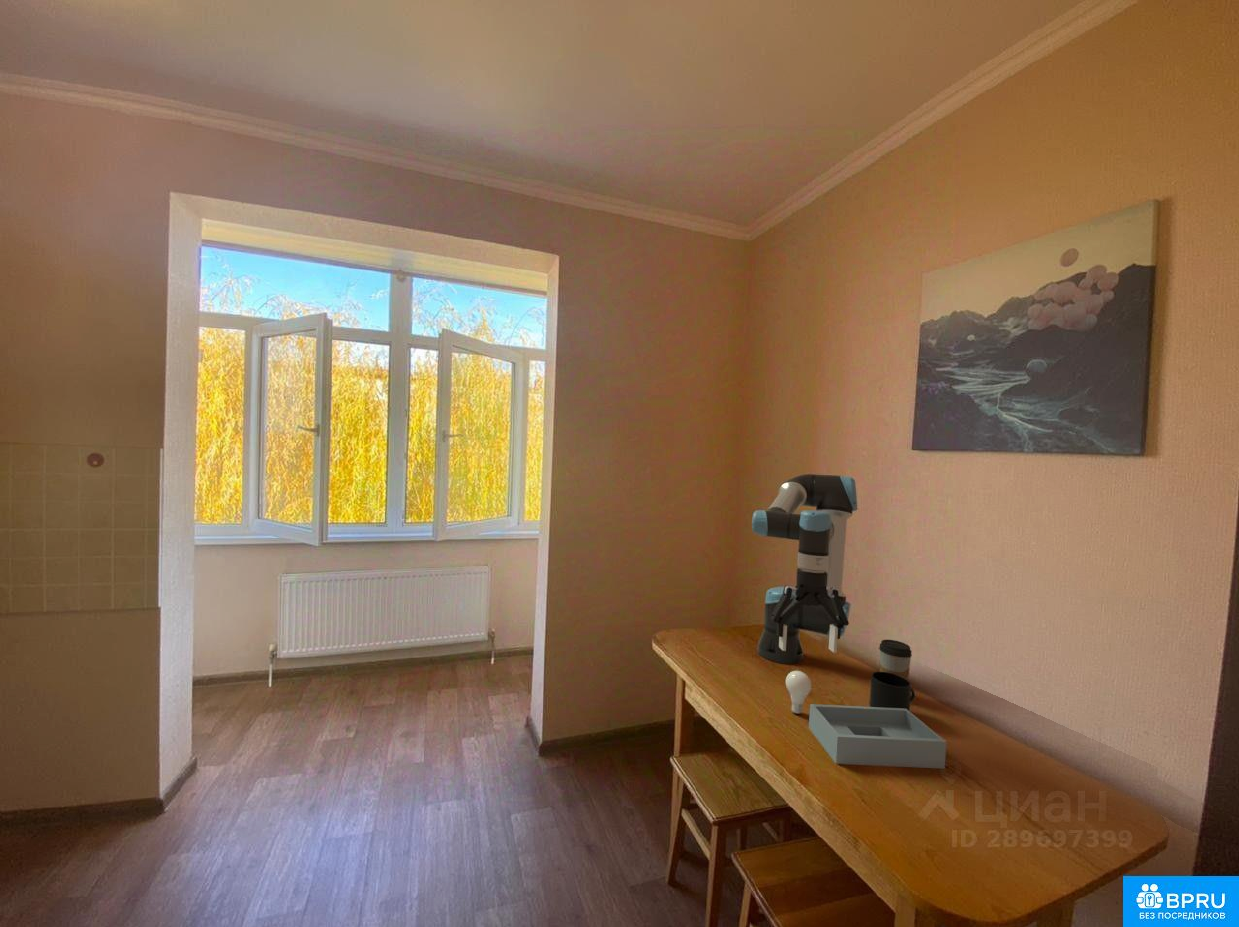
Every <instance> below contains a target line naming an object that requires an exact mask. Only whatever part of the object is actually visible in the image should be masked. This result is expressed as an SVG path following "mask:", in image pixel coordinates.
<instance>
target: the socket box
mask: <svg viewBox="0 0 1239 927" xmlns="http://www.w3.org/2000/svg"><path fill="white" fill-rule="evenodd" d="M808 719H809V720H808V730H810V732H811V733H812V734H813V736H814V737H815V738H816V740H817V741H818V742H819V744H820V745H821V746H822V748H824V751H826V753H827V754H828V755H829V757H830V758H831V759H832V761H833V762H834V764H836V765H838V764H839V765H851V766H852V765H853V766H857V765H858V766H873V767H874V766H876V767H899V768H901V767H902V768H921V769H922V768H923V769H944V770H945V768H946V756H947V755H946V752H947V741H946V740H945V739H944V738H942V736H940V735H939V734H938V733H936V732H935V731H934V730H933V729H932V728H931V727H929V726H928V725H927V724H926V723H924V722H923V720H921V719H920V718H918V717H917V716H916V715H914V714H913V713H912V712H911V710H910V711H908V710H907V709H903V708H882V707H870V706H861V705H860V706H857V705H856V706H855V705H838V704H837V705H836V704H835V705H834V704H815V703H814V704H812V703H810V704H809V718H808Z"/></svg>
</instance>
